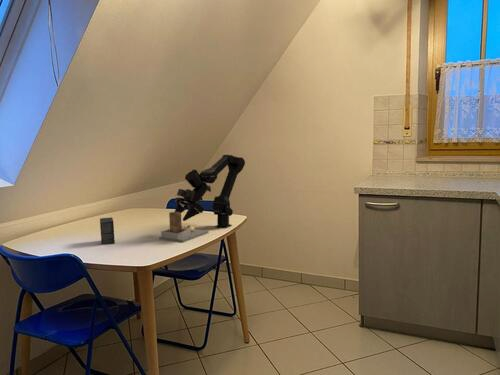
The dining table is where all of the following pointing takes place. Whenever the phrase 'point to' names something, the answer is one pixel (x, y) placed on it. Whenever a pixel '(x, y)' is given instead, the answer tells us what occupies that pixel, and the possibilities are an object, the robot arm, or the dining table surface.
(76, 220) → the dining table surface
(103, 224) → the box
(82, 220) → the dining table surface
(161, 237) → the housing
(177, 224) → the wooden block
